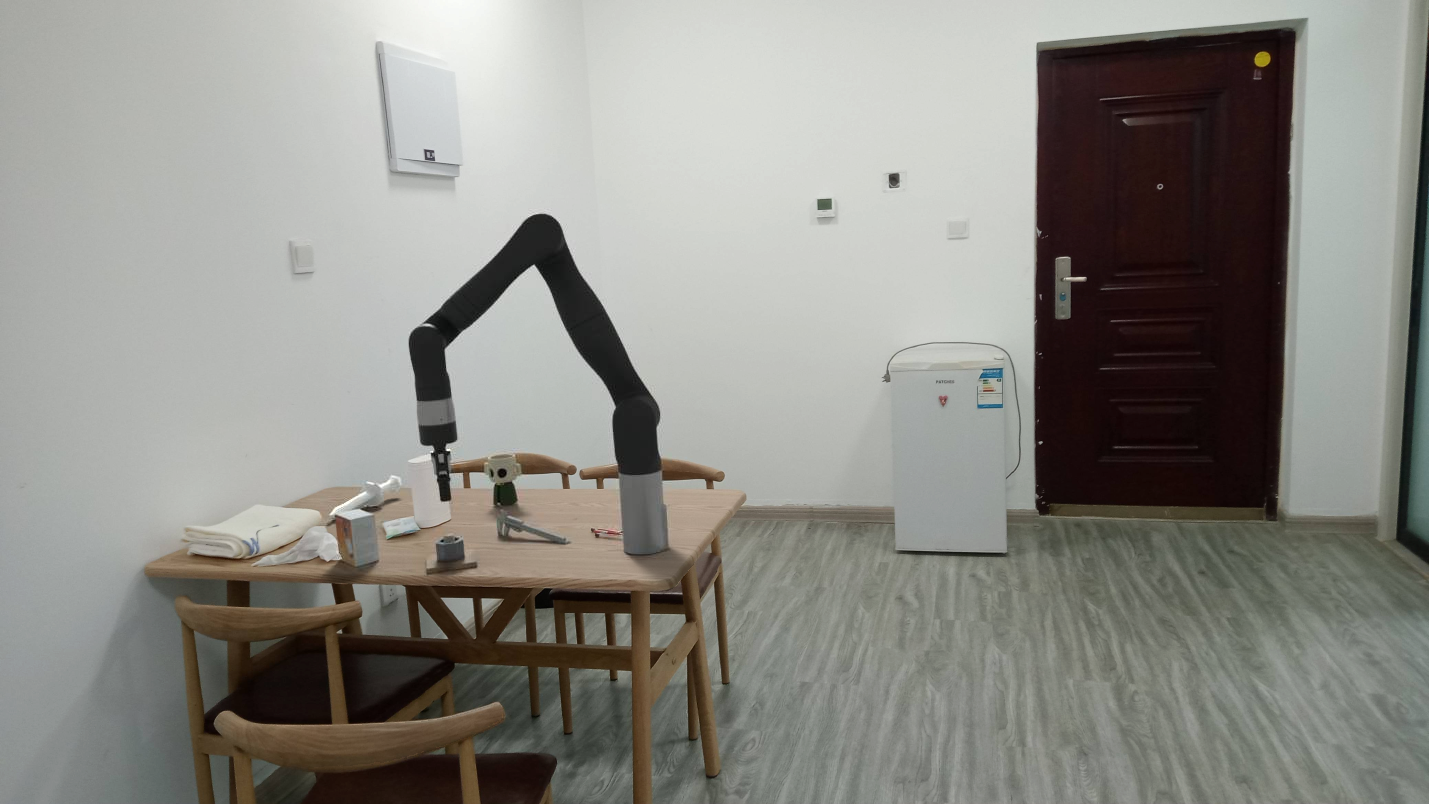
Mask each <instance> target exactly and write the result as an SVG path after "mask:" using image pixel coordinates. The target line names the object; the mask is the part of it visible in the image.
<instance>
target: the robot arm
mask: <svg viewBox="0 0 1429 804" xmlns="http://www.w3.org/2000/svg"><path fill="white" fill-rule="evenodd" d="M572 255H573V254H572V252H571V251H570V248H569V246H568V243H567V239H566V237H565V233H564V230H563V228H562V224H561V223H560V222H559V221H558V220H557V219H556V218H555V217H554V216H552V215H551V214H548V213H545V212H540V213H539V212H537V213H533V214H531V215H529V216H527V217H526V218H525V219H524V220H523V221H522V222H521V224H520V225H519V226H518V228H517V229H516V230H515V231H514V233H513V234H512V235H511V237H510V238H509V240H508V241H507V242H506V243H505V244H504V246H503V247H502V248H501V249H500V250H499V251H498V252H497V253H496V254H495V255H494V256H493V257H492V259H491V260H490V261H488V262H487V263H486V264H485V265H484V266H483V267H482V268H480V269H479V270H478V271H477V272H476V273H475V274H474V275H472V277H471V278H469V279H468V280H466V282H465V283H464V284H463V285H461V286H460V287H459V288H458V289H457V290H456V291H455V292H454V293H453V294H451V295H450V297H449V298H448V299H446V300H445V301H444V302H443V304H442V305H441V306H440V308H439V309H438V310H436V311H435V312H434V313H432V314H431V315H430V316H429V317H428V318H427V319H426V320H425V321H423V322H422V323H421V324H420V325H418V326H416V327H415V328H414V329H413V330H412V331H411V332H410V334H409V336H408V341H407V342H408V344H407V345H408V351H409V357H410V362H411V363H410V364H411V368H412V371H413V375H414V376H413V377H414V388H415V396H416V397H415V398H416V416H417V417H416V418H417V425H418V435H419V436H418V437H419V443H420V445H422V446H424V447H425V446H426V447H433V451H430V459H431V461H430V462H431V463H432V465H433V466H432V468H433V474H434V476H436V483H437V485H438V490H439V500H440V502H441V503H445V502H450V501H451V500H452V493H451V484H450V483H451V480H452V479H451V477H450V474H451V473H452V467H451V466H452V465H451V460H452V455H451V449H447V445H449V444H453V443H455V442H457V441H458V438H459V437H458V432H457V431H458V429H457V427H458V426H457V421H456V420H457V419H456V412H455V411H456V410H455V406H454V405H455V404H454V402H453V396H452V388H451V379H450V375H449V372H448V370H447V361H446V360H447V359H446V358H447V357H446V349H447V348H448V347H449V346H450V345H451V344H452V343H453V342H454V341H455V340H456V338H457V337H459V335H460V334H461V333H462V332H464V331H465V330H467V329H468V328H470V327H471V326H472V325H473V324H474V323H476V322H477V320H479V319H480V318H481V317H482V316H483V315H484V314H485V313H486V312H487V311H488V310H489V309H491V307H493V306H494V305H495V303H496V302H497V301H498V300H499V299H500V298H501V297H502V295H503V294H504V293H505V291H506V290H507V289H508V288H509V287H510V286H511V285H512V284H513V283H514V282H515V281H516V279H518V278H519V277H520V276H521V275H523V273H525V272H526V271H527V270H528V269H530V268H531V267H533V266H534V267H535V268H536V269H537V271H538V272H539V275H541V277H542V279H543V280H544V281H545V283H546V286H547V287H548V289H549V292H550V293H551V296H552V300H553V302H554V304H555V308H556V311H557V314H558V315H559V318H560V320H561V322H562V324H563V327H564V328H565V330H566V332H567V334H568V336H569V339H570V340H571V342H572V343H573V345H574V348H575V349H576V350H577V352H578V353H579V355H580V356H581V358H582V359H583V360H584V362H585V363H587V365H588V366H589V367H590V368H591V369H592V370H593V372H594V373H595V374H596V375H597V376H598V377H599V378H600V379H601V381H602V382H603V384H604V386H605V387H606V389H607V391H608V393H609V395H610V397H611V399H612V401H613V404H614V406H615V408H614V410H613V413H612V419H611V423H612V424H611V426H612V438H613V448H614V457H615V461H616V464H617V469H618V485H619V499H620V500H619V501H620V513H621V514H620V516H621V531H622V544H623V545H622V546H623V547H622V548H623V552H625V553H627V554H630V555H652V554H656V553H659V552H662V551H664V550H670V544H669V541H670V539H669V528H668V527H669V526H668V525H669V523H668V509H667V508H668V507H667V505H666V504H665V501H664V486H663V485H664V482H663V470H662V469H663V468H662V459H661V455H660V452H659V445H658V444H659V443H658V432H657V431H658V429H657V427H658V426H659V424H660V421H661V409H660V406H659V404H658V402H657V401H656V399H655V398H654V396H653V395H652V394H651V392H650V390H649V389H648V387H647V386H646V385H645V383H644V382H643V380H642V379H641V377H640V376H639V374H638V372H637V371H636V369H635V367H634V366H633V363H632V361H631V359H630V356H629V355H628V352H627V350H626V348H625V346H624V343H623V341H622V339H621V338H620V336H619V333H618V332H617V330H616V328H615V325H614V323H613V321H612V320H611V318H610V316H609V314H608V313H607V311H606V308H605V307H604V305H603V304H602V302H601V300H600V299H599V298H598V296H597V294H596V293H595V291H594V290H593V288H592V287H591V286H590V284H589V283H588V282H587V281H586V279H585V278H584V276H583V275H582V274H581V272H580V270H579V268H578V266H577V264H576V261H575V260H574V257H573V256H572Z"/></svg>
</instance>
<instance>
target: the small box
mask: <svg viewBox="0 0 1429 804" xmlns="http://www.w3.org/2000/svg"><path fill="white" fill-rule="evenodd" d="M334 520H335V529H336V539H337V548H338V555H339V554H340V555H341V557H342V560H341V562H344V563H346V564H348V565H351V566H352V567H354V568H357V566H358V567H360V566H365V565H369V564H371V562H372V563H375V562H374V561H376V562H378V561H377V560H379V561H380V556H379V555H380V554H379V544H378V543H379V542H378V533H377V525H376V524H377V523H376V514H374V513H371V512H368V511H365V510H363V509H362V508H361V509H355V510H351V511H346V512H342V513H337V514H335V519H334Z"/></svg>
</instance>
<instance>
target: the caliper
mask: <svg viewBox="0 0 1429 804" xmlns="http://www.w3.org/2000/svg"><path fill="white" fill-rule="evenodd" d="M496 528H497V529H496V531H497V535H499V536H501V535H503V536H504V537H506V536H508V535H509V534H510V530H513V531H514V532H517V533H522V532H523V531H524V532H527V533H529V534H532V535H535V536H537V537H541V538H543V539H547V540H549V541H552V542H554V543H556V544H557V543H558V544H565V545H568V544H571V541H570V540H568V539H567V537H566V536H563V535H560V534H558V533H555V532H552V531H550V530H546V529H543V528H540V527H537V526H534V525H531V524H528V523H525V522H524V520H522V519H520V518H516V517H513V516H511V515H508V510H504V509H500V510H499V513H497V516H496Z"/></svg>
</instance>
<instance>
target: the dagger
mask: <svg viewBox="0 0 1429 804" xmlns="http://www.w3.org/2000/svg"><path fill="white" fill-rule="evenodd" d="M402 483H403V482H402V480H401V477H400V476H395V475H390V476H389V477H388V478H387V479H386V481H385V482H383V483H380V484H379V483H378V482H371V481H367V482H365V483H364V485H363V486H362V488H360V490H359V492H360V493H359V494H358V495H357V496H355V497H353V498H352V499H350V500H348V501H346V502H345V503H343V504H341V505H339V506H337V507H335V508H333V509H332V510H331V512H329V515H328V517H329V518H330V520H335V514H337V513H342V512H346V511H351V510H355V509H361V510H362V508H363V507H364V506H367V505H378V506H380V504H381V503H382V502H383V500H384V499H385V496H384V495H385V494H386V493H387V492H389V491H391V492H395V493H396V492H398V491H399V490H400V489H401V487H403V484H402ZM366 504H367V505H366Z"/></svg>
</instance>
